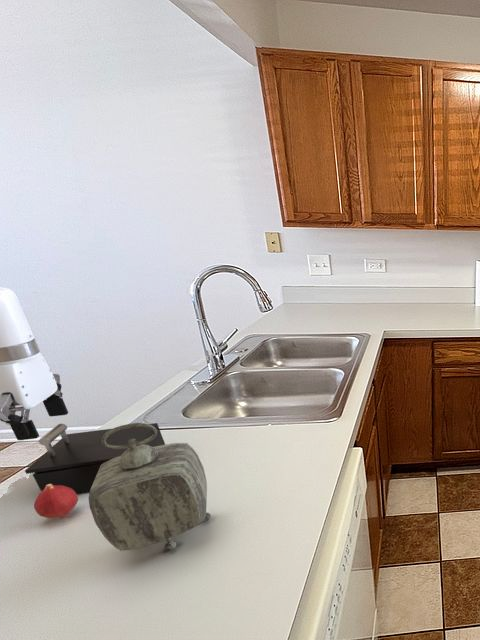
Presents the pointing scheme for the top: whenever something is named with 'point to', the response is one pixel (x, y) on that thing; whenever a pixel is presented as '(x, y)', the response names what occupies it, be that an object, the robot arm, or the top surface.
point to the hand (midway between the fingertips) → (44, 426)
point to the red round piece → (55, 501)
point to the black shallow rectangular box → (80, 473)
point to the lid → (84, 447)
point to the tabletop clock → (148, 493)
